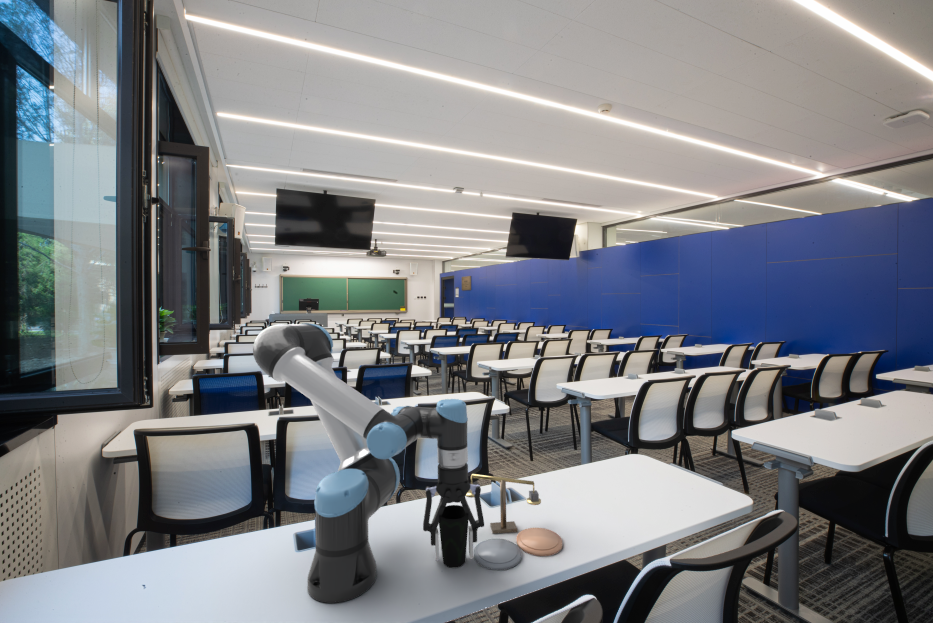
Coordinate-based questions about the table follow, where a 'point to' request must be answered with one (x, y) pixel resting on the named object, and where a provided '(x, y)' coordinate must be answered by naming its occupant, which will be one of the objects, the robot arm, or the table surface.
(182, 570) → the table surface
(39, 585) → the table surface
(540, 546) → the dish far
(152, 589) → the table surface
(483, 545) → the dish near
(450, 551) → the cup
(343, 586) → the robot arm
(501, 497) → the balance
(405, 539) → the table surface
